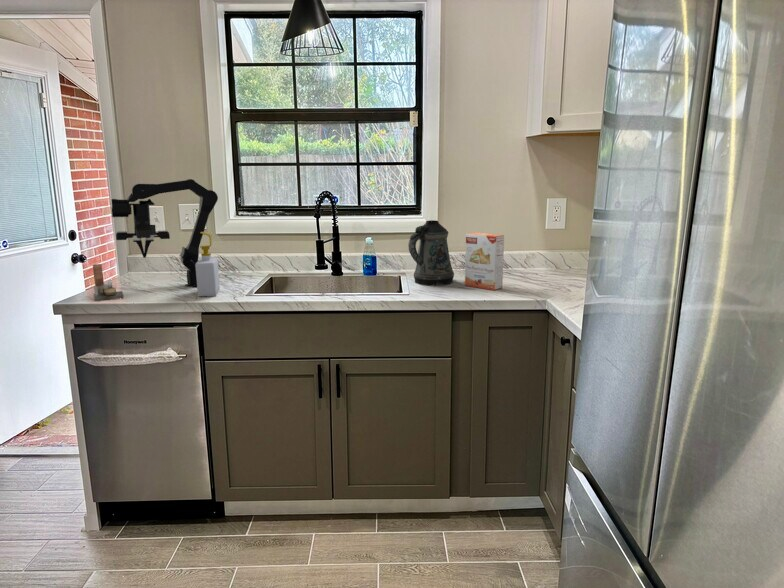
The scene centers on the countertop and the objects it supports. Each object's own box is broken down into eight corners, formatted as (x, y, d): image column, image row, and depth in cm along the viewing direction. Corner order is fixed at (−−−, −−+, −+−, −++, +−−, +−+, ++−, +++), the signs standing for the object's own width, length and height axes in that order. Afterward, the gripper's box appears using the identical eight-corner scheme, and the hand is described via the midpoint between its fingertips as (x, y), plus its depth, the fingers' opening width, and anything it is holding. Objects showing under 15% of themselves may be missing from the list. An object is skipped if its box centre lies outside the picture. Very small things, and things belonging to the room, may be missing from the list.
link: (118, 294, 211) (115, 267, 209) (108, 295, 208) (105, 268, 206) (103, 289, 219) (100, 263, 217) (93, 291, 216) (90, 265, 214)
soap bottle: (202, 290, 223) (197, 230, 217) (220, 289, 224) (215, 229, 219) (197, 297, 211) (192, 234, 206) (216, 296, 212) (211, 233, 207)
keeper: (112, 292, 216) (111, 277, 215) (113, 295, 211) (111, 280, 209) (94, 293, 214) (93, 279, 212) (95, 297, 208) (93, 282, 207)
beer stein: (459, 279, 238) (460, 219, 233) (441, 288, 222) (442, 224, 216) (423, 276, 246) (423, 218, 240) (403, 285, 229) (403, 222, 223)
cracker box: (464, 286, 226) (465, 233, 222) (473, 283, 231) (474, 231, 226) (494, 290, 217) (496, 235, 212) (502, 288, 221) (504, 234, 217)
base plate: (122, 293, 218) (122, 291, 218) (123, 298, 210) (123, 295, 210) (94, 296, 214) (94, 293, 214) (94, 301, 206) (94, 298, 206)
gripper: (114, 218, 207) (117, 261, 210) (169, 218, 215) (171, 259, 218) (114, 216, 217) (117, 257, 220) (167, 216, 225) (169, 255, 228)
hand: (144, 257), depth 221 cm, fingers closed
